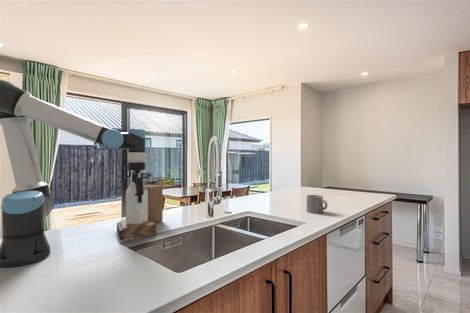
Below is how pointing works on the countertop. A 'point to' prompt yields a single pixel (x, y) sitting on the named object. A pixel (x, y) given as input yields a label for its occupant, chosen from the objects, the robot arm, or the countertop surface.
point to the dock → (135, 229)
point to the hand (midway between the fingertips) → (136, 207)
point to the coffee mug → (315, 204)
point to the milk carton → (131, 212)
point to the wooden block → (155, 202)
